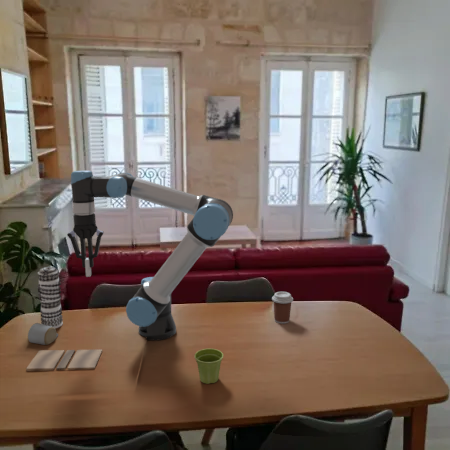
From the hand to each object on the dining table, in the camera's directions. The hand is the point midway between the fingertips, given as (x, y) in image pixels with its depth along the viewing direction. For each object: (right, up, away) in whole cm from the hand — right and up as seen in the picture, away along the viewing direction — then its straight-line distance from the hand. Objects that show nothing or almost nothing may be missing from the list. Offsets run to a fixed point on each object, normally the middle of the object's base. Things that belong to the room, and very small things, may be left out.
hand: (88, 275), depth 168 cm
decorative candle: (-22, -24, +22) cm, 39 cm away
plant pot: (+46, -32, -20) cm, 59 cm away
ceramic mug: (-19, -27, +7) cm, 34 cm away
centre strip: (-5, -30, -10) cm, 32 cm away
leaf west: (+2, -30, -9) cm, 31 cm away
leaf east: (-12, -30, -10) cm, 33 cm away
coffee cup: (+76, -23, +27) cm, 84 cm away
